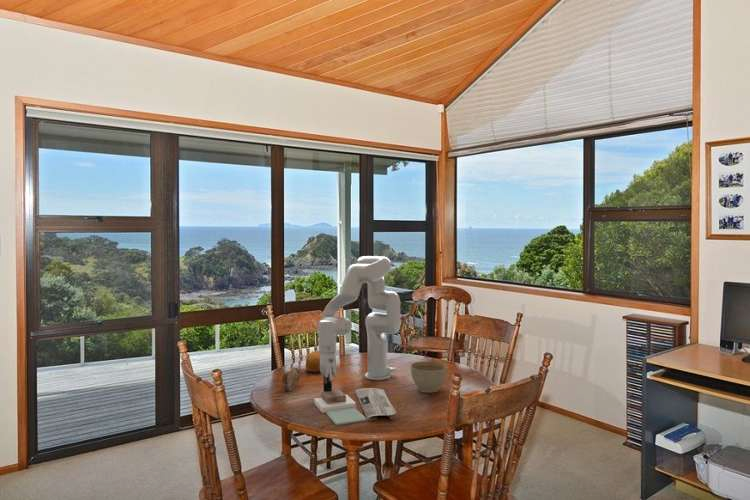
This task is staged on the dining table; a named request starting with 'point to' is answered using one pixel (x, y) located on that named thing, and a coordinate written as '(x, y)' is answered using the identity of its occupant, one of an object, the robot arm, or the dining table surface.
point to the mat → (345, 416)
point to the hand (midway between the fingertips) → (327, 391)
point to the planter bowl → (428, 375)
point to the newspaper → (375, 403)
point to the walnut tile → (333, 396)
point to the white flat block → (334, 404)
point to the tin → (290, 379)
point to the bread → (313, 361)
